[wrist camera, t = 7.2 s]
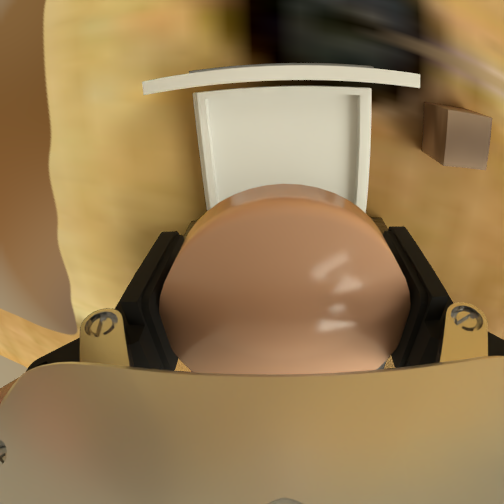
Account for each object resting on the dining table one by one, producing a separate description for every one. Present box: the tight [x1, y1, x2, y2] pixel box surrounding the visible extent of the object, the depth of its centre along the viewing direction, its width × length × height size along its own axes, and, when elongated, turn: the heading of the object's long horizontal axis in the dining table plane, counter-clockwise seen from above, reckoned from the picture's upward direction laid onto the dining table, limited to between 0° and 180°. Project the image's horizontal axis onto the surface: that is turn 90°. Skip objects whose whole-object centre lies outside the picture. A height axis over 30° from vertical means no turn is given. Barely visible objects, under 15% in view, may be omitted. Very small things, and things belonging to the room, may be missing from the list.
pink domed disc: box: [159, 184, 411, 374], centre depth 9 cm, size 7×7×2 cm
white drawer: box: [142, 63, 420, 213], centre depth 20 cm, size 13×15×6 cm
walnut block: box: [422, 102, 492, 170], centre depth 19 cm, size 4×4×4 cm
